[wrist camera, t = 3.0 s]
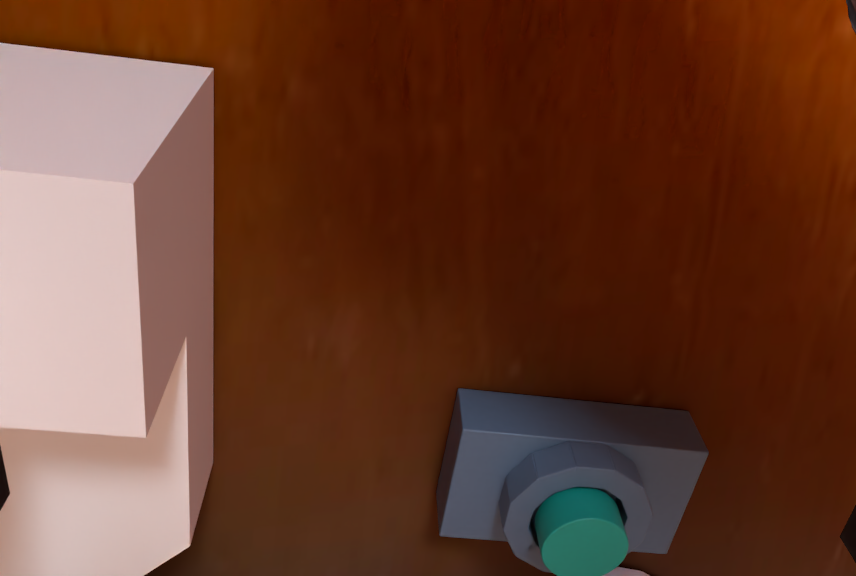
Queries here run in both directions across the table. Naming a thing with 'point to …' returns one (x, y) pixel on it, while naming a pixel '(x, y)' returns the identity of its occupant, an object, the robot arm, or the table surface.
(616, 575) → the soap bottle
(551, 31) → the table surface
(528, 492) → the button housing
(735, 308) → the table surface
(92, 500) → the stepped bracket block
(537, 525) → the teal push button
